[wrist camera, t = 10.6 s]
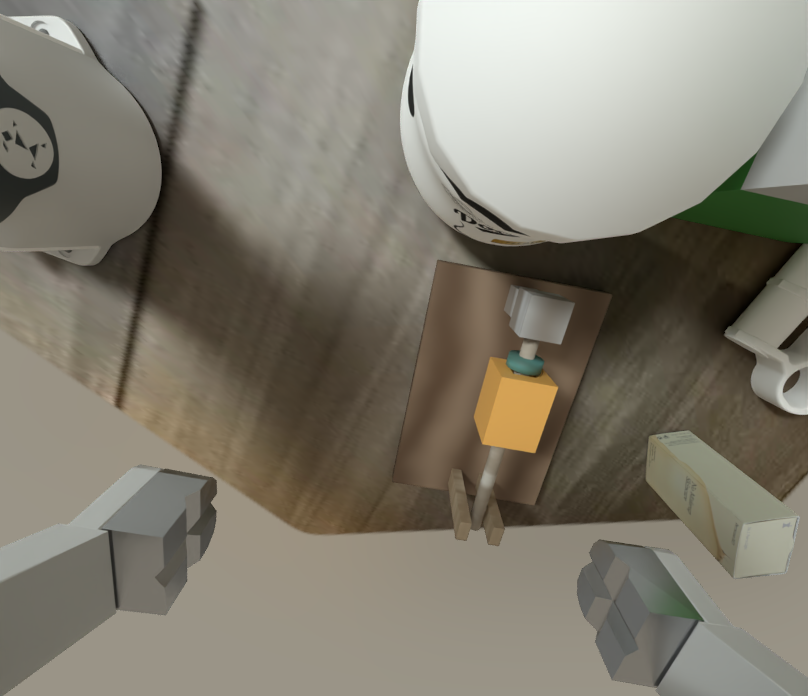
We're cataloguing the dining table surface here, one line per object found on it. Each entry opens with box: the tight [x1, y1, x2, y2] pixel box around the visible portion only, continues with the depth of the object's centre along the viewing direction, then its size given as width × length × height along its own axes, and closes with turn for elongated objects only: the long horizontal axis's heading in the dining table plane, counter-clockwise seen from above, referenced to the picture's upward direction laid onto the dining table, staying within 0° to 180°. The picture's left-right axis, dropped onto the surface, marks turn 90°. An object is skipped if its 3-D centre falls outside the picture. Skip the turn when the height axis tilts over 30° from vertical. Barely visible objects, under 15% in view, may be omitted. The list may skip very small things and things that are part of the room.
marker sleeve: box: [474, 357, 558, 453], centre depth 31 cm, size 4×6×4 cm
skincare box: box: [646, 431, 800, 579], centre depth 35 cm, size 6×4×12 cm
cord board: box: [392, 260, 612, 546], centre depth 35 cm, size 16×24×9 cm, turn 170°
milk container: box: [400, 0, 808, 246], centre depth 23 cm, size 17×17×18 cm
